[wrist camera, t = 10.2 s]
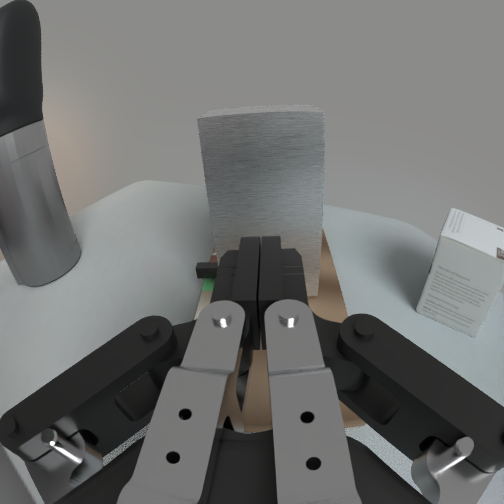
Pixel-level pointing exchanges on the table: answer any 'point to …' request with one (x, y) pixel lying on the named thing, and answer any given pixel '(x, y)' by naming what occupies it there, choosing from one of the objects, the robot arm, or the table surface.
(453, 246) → the skincare box
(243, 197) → the grey rectangular block
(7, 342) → the table surface
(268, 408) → the gauge base
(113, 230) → the table surface
